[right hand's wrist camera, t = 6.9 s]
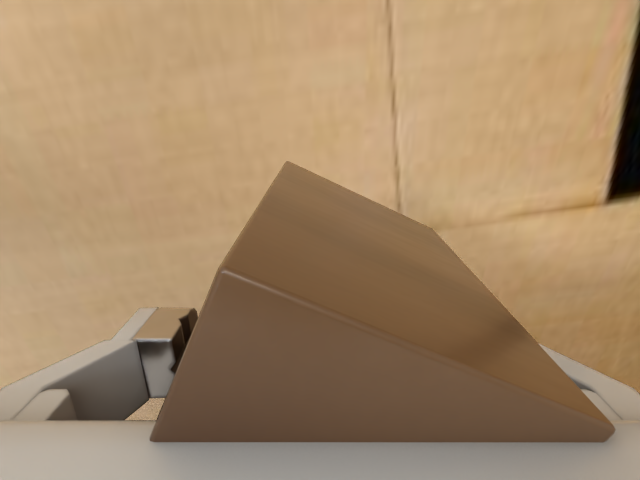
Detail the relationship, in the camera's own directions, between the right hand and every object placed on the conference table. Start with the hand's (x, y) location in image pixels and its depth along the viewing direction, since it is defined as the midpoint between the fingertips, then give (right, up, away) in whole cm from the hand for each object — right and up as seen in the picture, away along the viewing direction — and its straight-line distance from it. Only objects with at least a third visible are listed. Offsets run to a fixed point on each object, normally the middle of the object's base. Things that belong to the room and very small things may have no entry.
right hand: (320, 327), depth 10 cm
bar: (-4, -8, +6) cm, 11 cm away
